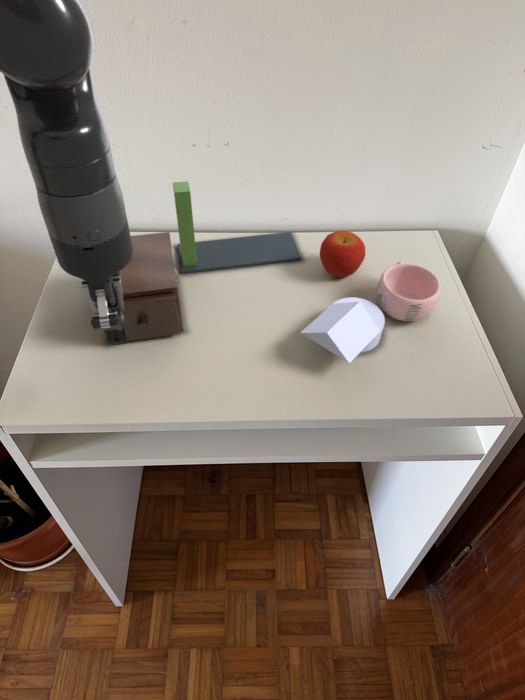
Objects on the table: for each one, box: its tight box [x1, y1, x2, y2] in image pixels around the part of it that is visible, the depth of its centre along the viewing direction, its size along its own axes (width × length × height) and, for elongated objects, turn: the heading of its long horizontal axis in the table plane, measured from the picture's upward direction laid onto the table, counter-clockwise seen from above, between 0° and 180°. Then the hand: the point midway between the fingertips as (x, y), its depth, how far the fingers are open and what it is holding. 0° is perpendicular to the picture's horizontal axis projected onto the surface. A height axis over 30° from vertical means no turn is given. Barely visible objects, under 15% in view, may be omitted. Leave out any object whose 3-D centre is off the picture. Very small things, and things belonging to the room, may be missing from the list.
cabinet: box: [121, 231, 184, 333], centre depth 79 cm, size 14×12×10 cm
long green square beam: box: [172, 180, 197, 267], centre depth 85 cm, size 2×3×15 cm
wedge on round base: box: [300, 296, 386, 364], centre depth 77 cm, size 9×7×13 cm
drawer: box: [122, 292, 181, 342], centre depth 78 cm, size 14×10×8 cm
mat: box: [177, 231, 302, 275], centre depth 93 cm, size 22×8×1 cm, turn 102°
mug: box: [376, 260, 442, 322], centre depth 83 cm, size 12×10×6 cm
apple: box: [319, 230, 366, 278], centre depth 87 cm, size 8×8×8 cm
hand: (118, 338), depth 61 cm, fingers closed
